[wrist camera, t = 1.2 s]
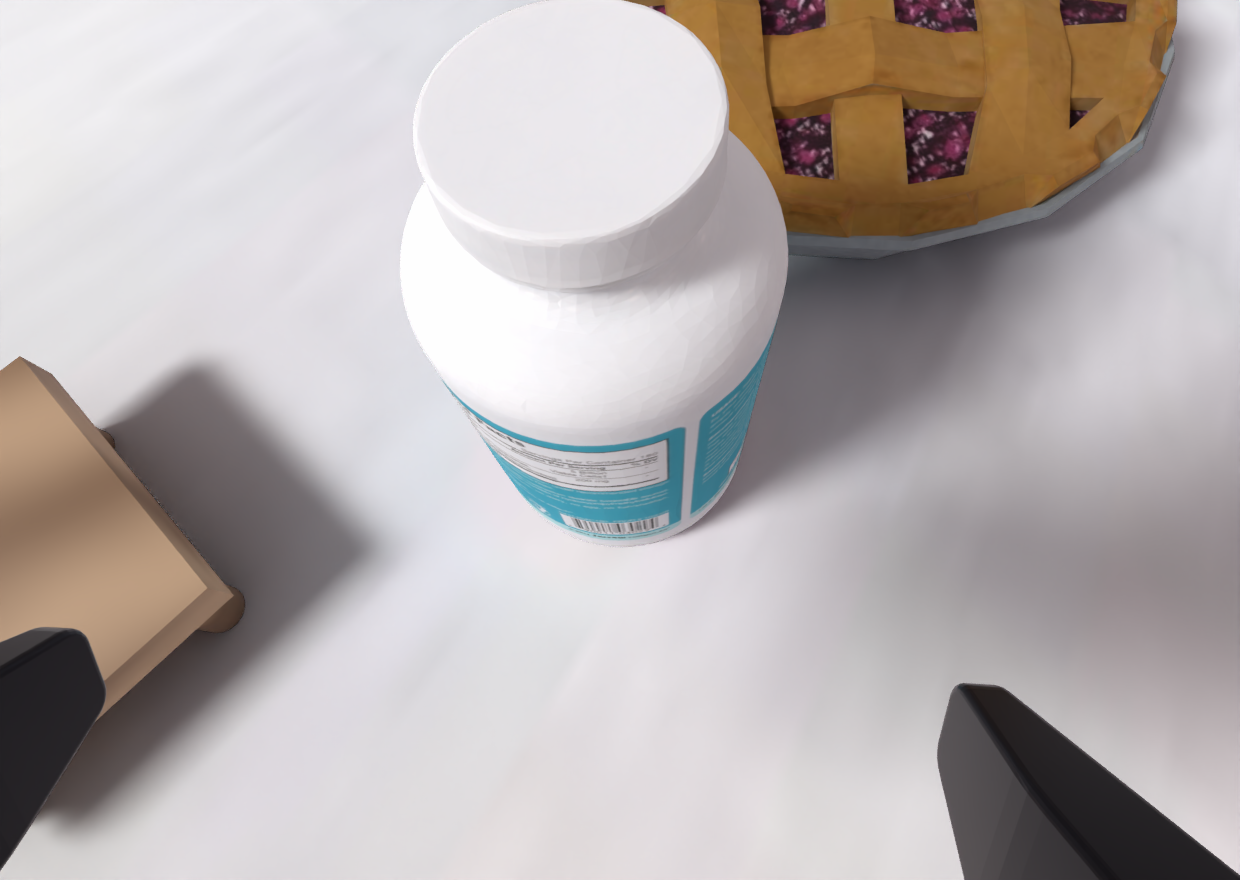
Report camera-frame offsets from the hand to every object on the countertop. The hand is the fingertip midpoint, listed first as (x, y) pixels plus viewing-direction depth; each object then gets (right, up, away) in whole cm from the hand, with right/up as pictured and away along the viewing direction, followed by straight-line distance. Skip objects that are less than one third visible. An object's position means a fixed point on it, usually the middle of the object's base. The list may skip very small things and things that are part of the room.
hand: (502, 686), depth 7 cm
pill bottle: (+1, +2, +16) cm, 16 cm away
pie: (+9, +17, +21) cm, 29 cm away
